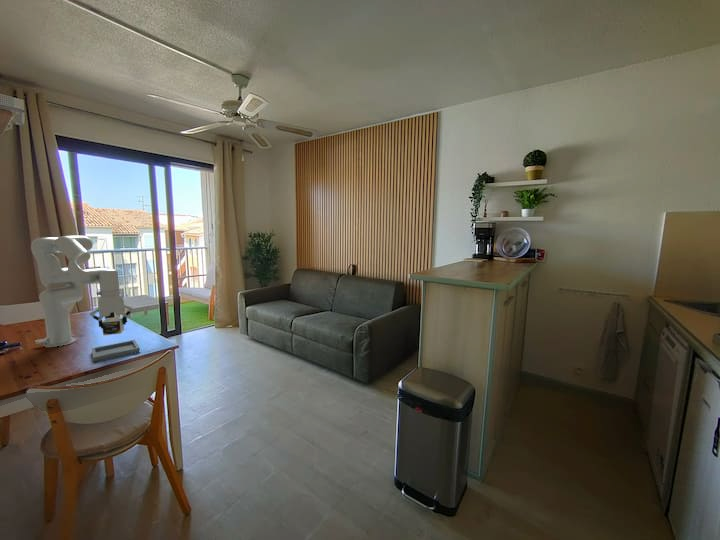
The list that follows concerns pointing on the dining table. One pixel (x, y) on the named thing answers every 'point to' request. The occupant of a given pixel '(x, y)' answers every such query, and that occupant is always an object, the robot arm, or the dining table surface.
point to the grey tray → (114, 350)
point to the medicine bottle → (112, 324)
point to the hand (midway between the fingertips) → (113, 325)
